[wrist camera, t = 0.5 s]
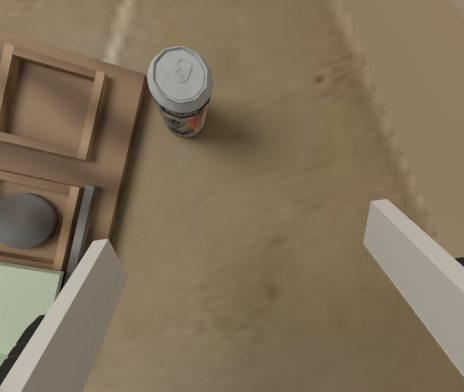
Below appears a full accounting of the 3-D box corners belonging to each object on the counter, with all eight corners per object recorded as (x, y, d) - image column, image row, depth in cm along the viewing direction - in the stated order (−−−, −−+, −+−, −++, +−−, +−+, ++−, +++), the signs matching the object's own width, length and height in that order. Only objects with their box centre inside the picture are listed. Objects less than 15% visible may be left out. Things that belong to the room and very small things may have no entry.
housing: (86, 347, 29) (75, 364, 26) (-74, 329, 26) (-104, 346, 23) (147, 79, 28) (142, 69, 26) (-11, 32, 25) (-34, 15, 23)
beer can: (157, 128, 29) (134, 91, 17) (172, 90, 29) (159, 26, 17) (196, 144, 30) (200, 120, 18) (210, 107, 30) (223, 58, 18)
